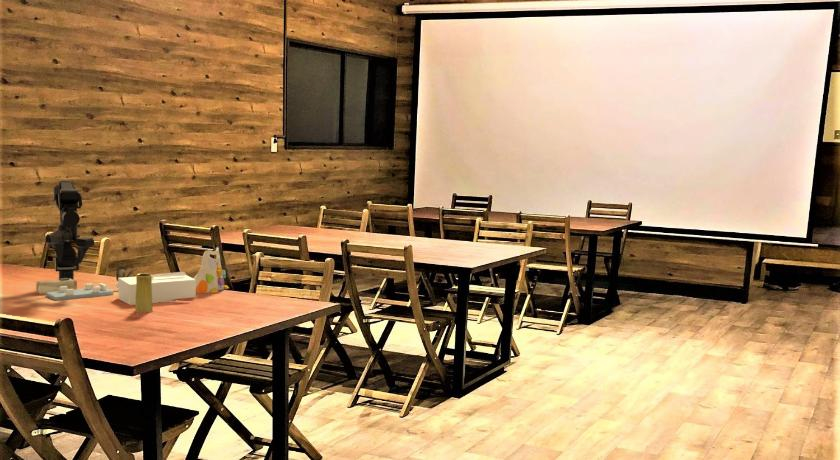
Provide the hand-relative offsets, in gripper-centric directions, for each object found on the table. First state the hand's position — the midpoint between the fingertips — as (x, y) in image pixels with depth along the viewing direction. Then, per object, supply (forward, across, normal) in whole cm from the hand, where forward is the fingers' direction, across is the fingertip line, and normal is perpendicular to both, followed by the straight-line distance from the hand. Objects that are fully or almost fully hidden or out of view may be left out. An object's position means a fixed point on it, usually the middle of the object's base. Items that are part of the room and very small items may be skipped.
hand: (69, 262), depth 339 cm
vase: (+11, +45, -17) cm, 50 cm away
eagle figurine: (+12, +14, +16) cm, 24 cm away
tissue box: (+12, +36, +5) cm, 38 cm away
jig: (+12, +6, -2) cm, 14 cm away
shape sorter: (+12, +45, +28) cm, 55 cm away
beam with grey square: (+13, -6, -1) cm, 14 cm away
